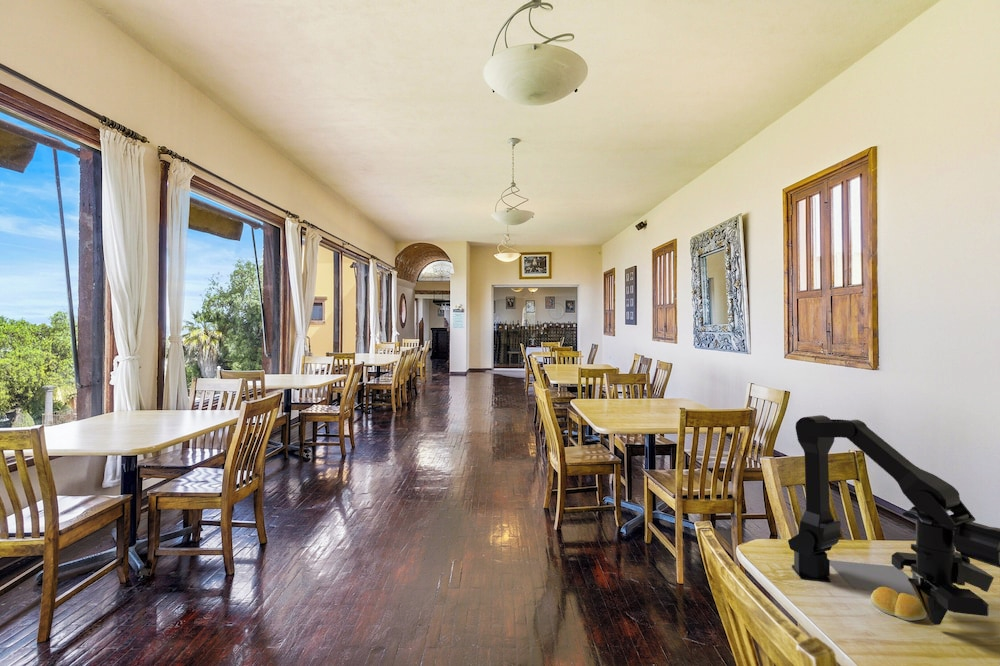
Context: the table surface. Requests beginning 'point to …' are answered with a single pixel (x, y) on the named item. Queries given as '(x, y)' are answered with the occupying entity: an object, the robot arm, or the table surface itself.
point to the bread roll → (898, 604)
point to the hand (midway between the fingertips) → (935, 623)
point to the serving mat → (873, 576)
